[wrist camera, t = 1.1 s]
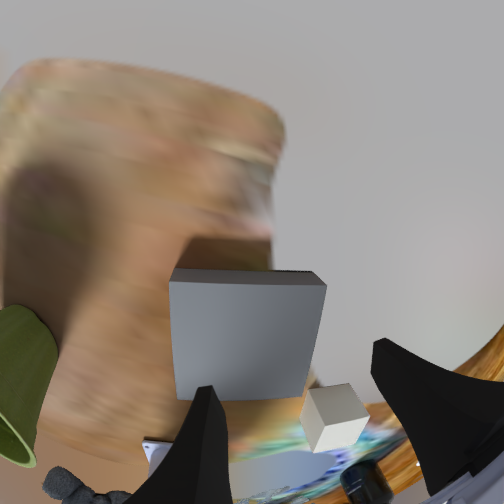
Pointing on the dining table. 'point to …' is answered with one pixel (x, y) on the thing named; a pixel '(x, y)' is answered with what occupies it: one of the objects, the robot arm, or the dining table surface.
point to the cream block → (332, 417)
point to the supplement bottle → (366, 484)
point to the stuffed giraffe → (273, 493)
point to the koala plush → (77, 489)
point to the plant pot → (23, 380)
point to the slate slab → (244, 331)
